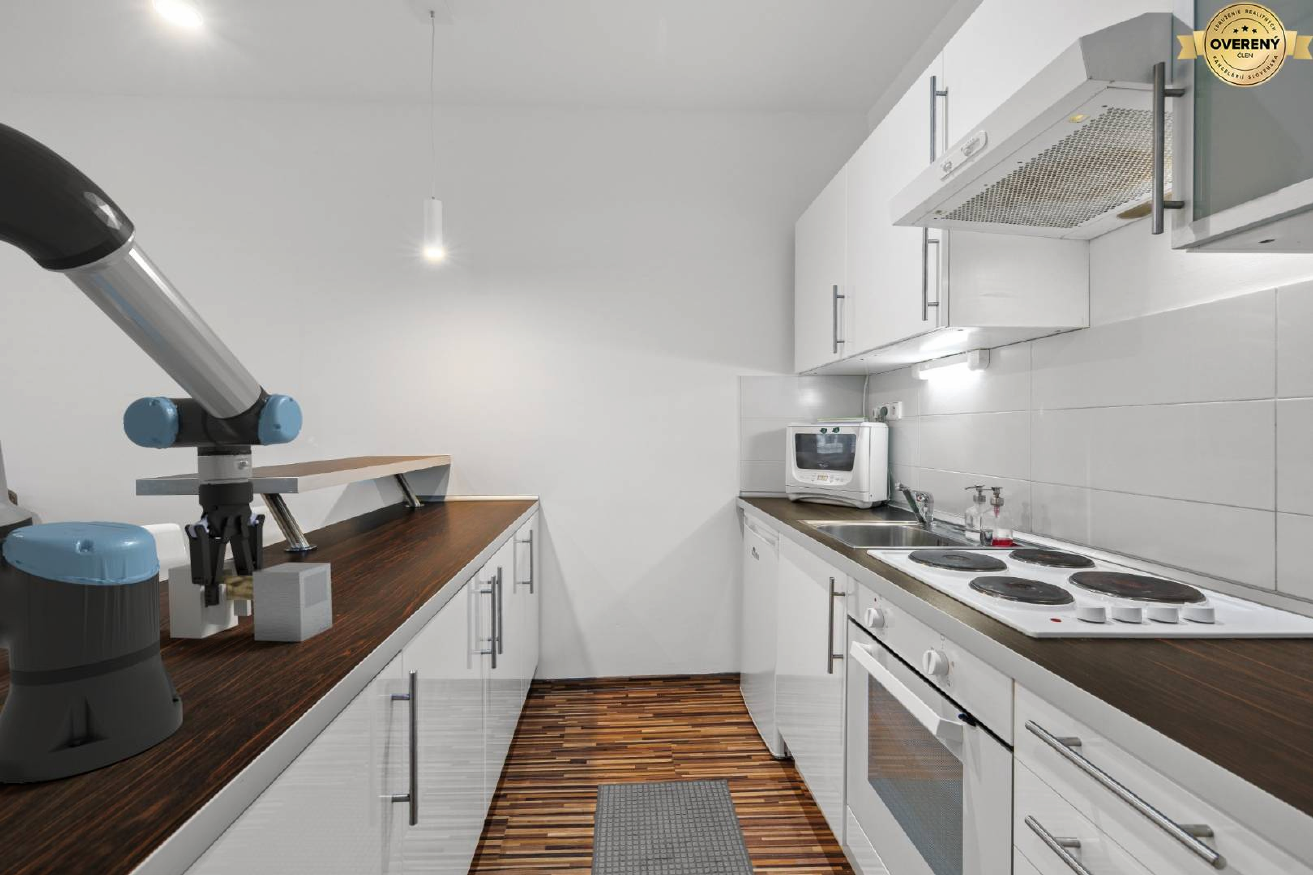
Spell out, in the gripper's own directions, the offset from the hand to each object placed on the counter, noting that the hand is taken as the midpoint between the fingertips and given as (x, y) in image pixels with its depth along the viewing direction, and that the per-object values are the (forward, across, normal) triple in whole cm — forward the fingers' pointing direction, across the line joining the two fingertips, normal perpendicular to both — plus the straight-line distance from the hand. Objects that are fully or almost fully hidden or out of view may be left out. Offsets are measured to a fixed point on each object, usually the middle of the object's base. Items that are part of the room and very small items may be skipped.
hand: (230, 619), depth 101 cm
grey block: (+2, 0, -12) cm, 12 cm away
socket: (+2, 0, +5) cm, 6 cm away
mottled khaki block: (-3, 0, -3) cm, 4 cm away
